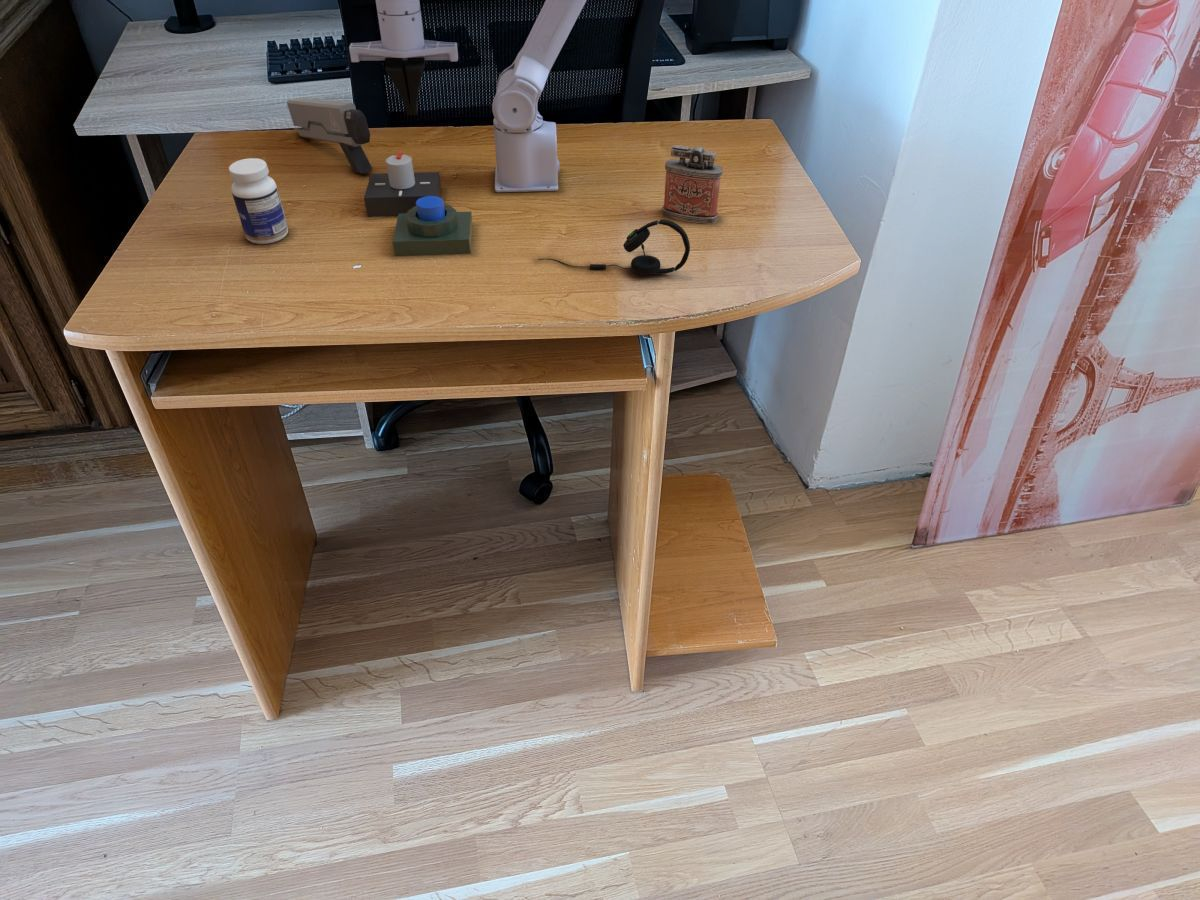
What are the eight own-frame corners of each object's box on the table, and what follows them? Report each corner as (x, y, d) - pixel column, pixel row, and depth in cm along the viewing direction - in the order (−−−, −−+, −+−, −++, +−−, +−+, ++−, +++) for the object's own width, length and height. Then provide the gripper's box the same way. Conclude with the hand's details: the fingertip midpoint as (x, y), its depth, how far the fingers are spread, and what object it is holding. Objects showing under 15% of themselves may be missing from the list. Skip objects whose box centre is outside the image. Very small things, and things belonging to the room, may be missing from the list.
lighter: (719, 215, 120) (727, 147, 113) (714, 225, 118) (721, 156, 111) (665, 206, 122) (670, 139, 115) (659, 216, 120) (663, 148, 113)
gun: (370, 177, 126) (350, 107, 120) (304, 162, 143) (284, 100, 138) (385, 172, 127) (366, 103, 121) (317, 158, 144) (298, 96, 139)
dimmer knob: (414, 189, 119) (410, 162, 116) (388, 189, 118) (384, 163, 116) (416, 178, 121) (412, 152, 119) (391, 178, 121) (386, 152, 119)
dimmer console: (441, 190, 125) (439, 170, 123) (438, 215, 119) (435, 194, 117) (374, 192, 125) (370, 172, 122) (367, 217, 119) (363, 196, 117)
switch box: (472, 225, 117) (469, 199, 114) (470, 254, 111) (467, 226, 108) (400, 228, 116) (396, 201, 114) (394, 256, 111) (390, 228, 108)
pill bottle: (244, 229, 116) (223, 159, 109) (286, 222, 117) (268, 153, 111) (247, 248, 112) (225, 177, 105) (291, 241, 113) (272, 170, 107)
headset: (565, 281, 118) (701, 247, 110) (552, 305, 112) (693, 271, 104) (547, 236, 114) (686, 198, 106) (532, 259, 109) (677, 221, 101)
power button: (445, 209, 113) (444, 195, 111) (444, 222, 110) (442, 207, 109) (419, 210, 113) (417, 196, 111) (416, 222, 110) (414, 208, 109)
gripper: (454, 1, 115) (463, 102, 124) (348, 1, 114) (365, 103, 123) (452, 16, 110) (461, 119, 119) (340, 16, 109) (358, 121, 118)
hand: (412, 112), depth 121 cm, fingers closed
